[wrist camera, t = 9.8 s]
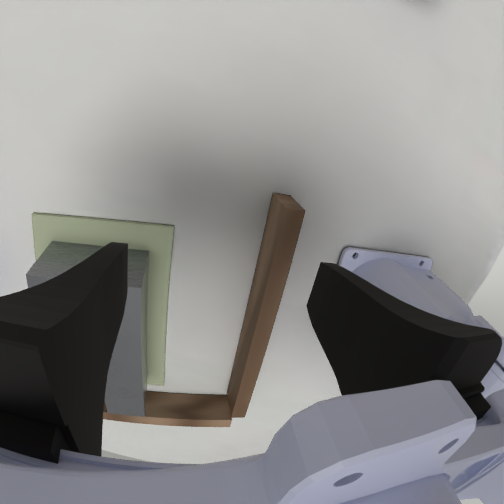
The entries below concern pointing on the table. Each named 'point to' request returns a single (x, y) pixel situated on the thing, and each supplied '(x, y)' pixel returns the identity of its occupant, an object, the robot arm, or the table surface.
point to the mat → (137, 237)
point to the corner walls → (252, 334)
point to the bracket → (131, 330)
